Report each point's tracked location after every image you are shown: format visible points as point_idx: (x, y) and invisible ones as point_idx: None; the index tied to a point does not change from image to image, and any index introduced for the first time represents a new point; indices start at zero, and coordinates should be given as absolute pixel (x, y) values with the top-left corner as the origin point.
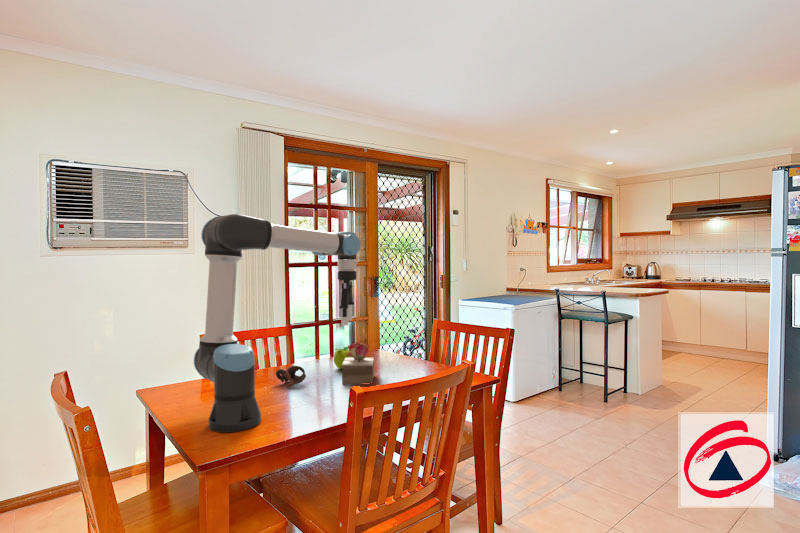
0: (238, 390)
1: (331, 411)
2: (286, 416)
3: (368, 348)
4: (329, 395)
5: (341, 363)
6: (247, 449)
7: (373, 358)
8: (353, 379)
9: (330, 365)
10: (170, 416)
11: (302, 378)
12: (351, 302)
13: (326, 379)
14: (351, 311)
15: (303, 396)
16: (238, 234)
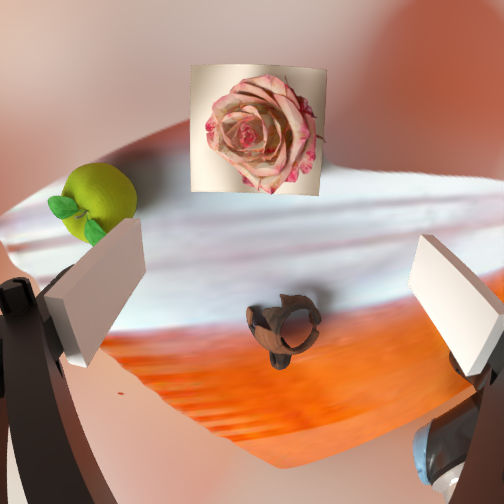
0: None
1: (494, 200)
2: (487, 279)
3: (247, 78)
4: (403, 209)
5: (136, 204)
6: None
7: (215, 65)
8: None
9: (79, 240)
10: (414, 414)
11: (304, 301)
12: (40, 329)
13: (239, 232)
14: (104, 262)
15: (394, 271)
16: None
